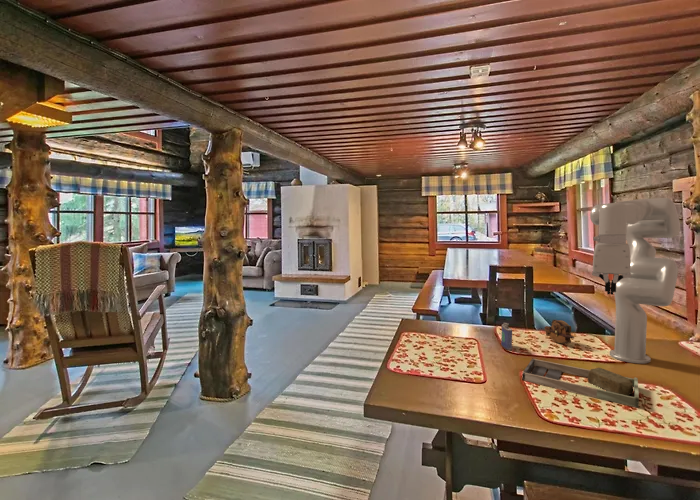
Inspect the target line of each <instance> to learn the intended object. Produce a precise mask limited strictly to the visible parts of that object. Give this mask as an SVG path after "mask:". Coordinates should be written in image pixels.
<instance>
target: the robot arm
mask: <svg viewBox="0 0 700 500" xmlns="http://www.w3.org/2000/svg"><path fill="white" fill-rule="evenodd" d="M678 213H679V212H678V210H677V207H676V204H675V202H674V201H673V200H672V199H671V198H669V197H655V198H654V197H653V198H639V199H632V200H631V199H629V200H623V201H617V202H610V203H608V202H607V203H603V204H602V203H601V204H596V205H594V206H593V207H592V208H591V210H590V213H589V218H590V221H591V223H592V224H593V225H595V226H598V235H597V236H593V241H596V242H597V243H596V244H595V245H594V249H593V254H592V255H593V257H592V259H593V260H592V272H591V276H594V277H597V278H598V277H599V278H600V279H601V280H602V281H603V282H604V292H606V293H607V295H611V296H612V295H614V300H615V301H614V302H615V324H614V325H615V326H614V349H611V350H610V351H609V356H610V357H611V358H614V359H616V360H620V361H622V362H626V363H631V364H641V365H642V364H645V365H646V364H649V363H651V361H652V359H651V357H650V356H649V355H647V354H646V353H647V351H646V349H647V328H648V327H647V326H648V325H647V324H648V315H647V313H646V311H645V309H644V308H643V307H642V306H641V305H646V306H647V305H648V306H655V307H668V306H670V305H671V304H672V302H673V299H674V295H675V290H676V286H677V280H678V274H679V268H678V264H677V262H676V260H674V259H671V258H667V257H666V258H665V257H656V255H657V250H656V248H655V246H653V245H652V244H651V243H650V242H649V241H648V240H646V238H647V239H648V238H649V239H650V238H651V239H652V238H653V239H663V238H664V239H670V238H675V237H677V236H678V235H679V234H680V231H681V221H680V217H679V214H678ZM609 275H613V279H612V280H610V278H609Z"/></svg>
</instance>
